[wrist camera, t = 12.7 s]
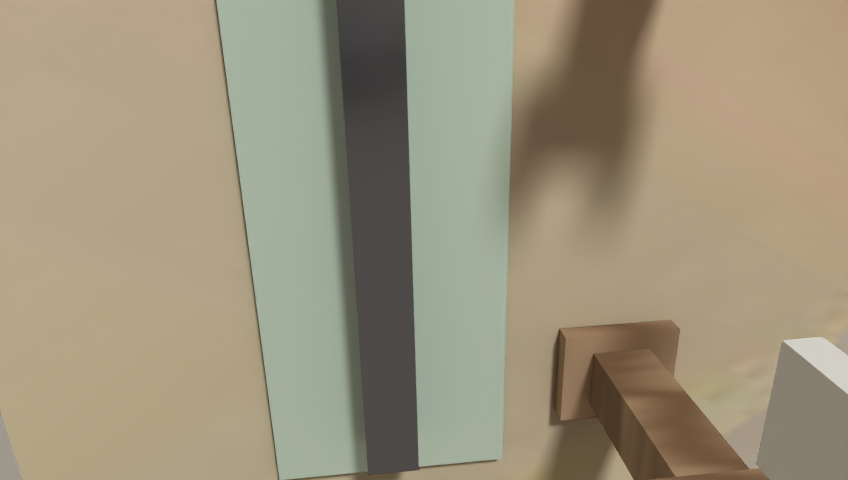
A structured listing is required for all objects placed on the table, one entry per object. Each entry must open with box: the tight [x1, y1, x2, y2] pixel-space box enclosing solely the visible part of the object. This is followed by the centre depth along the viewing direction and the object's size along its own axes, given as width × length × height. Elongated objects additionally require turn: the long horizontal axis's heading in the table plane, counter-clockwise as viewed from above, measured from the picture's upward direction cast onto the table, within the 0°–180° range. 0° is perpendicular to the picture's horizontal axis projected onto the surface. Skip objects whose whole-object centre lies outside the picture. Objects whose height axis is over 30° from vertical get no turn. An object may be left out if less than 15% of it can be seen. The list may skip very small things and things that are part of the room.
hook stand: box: [555, 320, 769, 480], centre depth 24 cm, size 6×29×14 cm, turn 1°
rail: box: [336, 0, 419, 475], centre depth 28 cm, size 2×30×2 cm, turn 1°
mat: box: [216, 0, 515, 480], centre depth 29 cm, size 12×34×1 cm, turn 1°
